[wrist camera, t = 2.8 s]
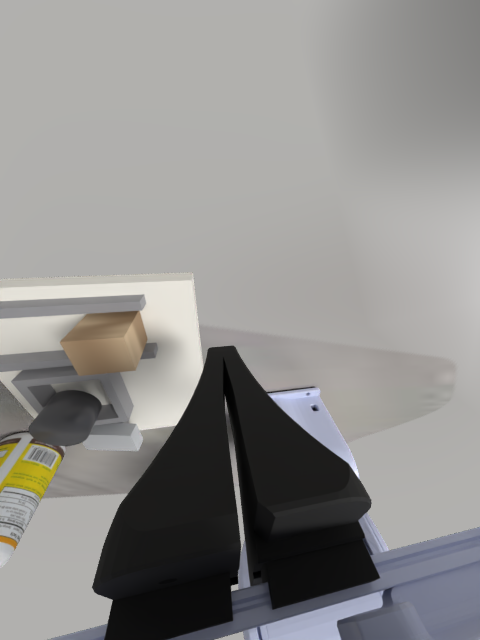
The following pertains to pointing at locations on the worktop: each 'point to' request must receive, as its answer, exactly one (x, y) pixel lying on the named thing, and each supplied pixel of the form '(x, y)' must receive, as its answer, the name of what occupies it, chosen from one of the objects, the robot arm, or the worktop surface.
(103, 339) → the tan block
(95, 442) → the grey rocker switch
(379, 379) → the worktop surface
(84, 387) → the switch board
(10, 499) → the supplement bottle
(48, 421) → the black push button
